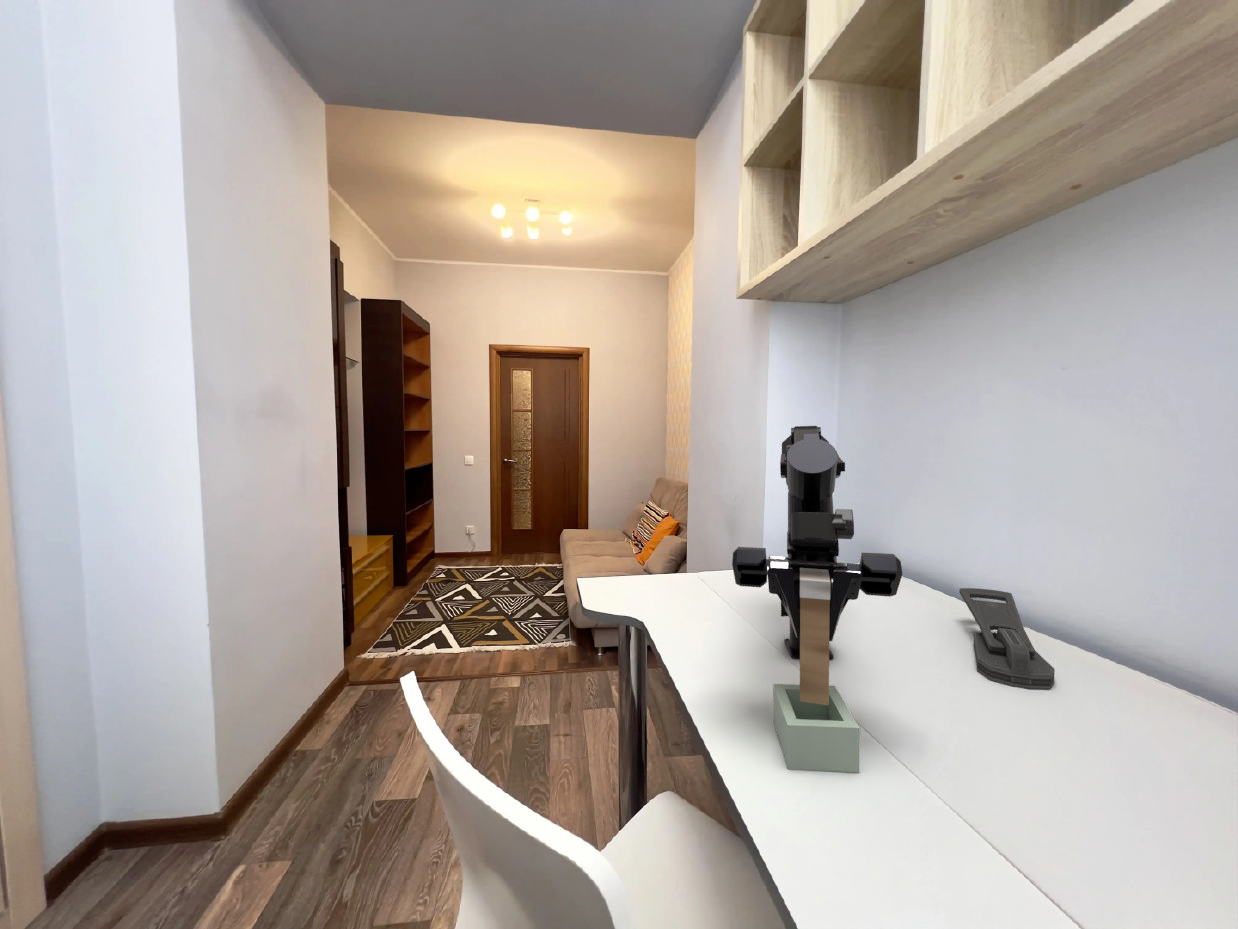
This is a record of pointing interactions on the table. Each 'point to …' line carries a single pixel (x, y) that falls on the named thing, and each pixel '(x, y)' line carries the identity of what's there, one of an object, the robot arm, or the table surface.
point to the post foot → (815, 731)
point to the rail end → (814, 635)
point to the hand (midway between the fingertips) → (814, 638)
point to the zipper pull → (1005, 643)
